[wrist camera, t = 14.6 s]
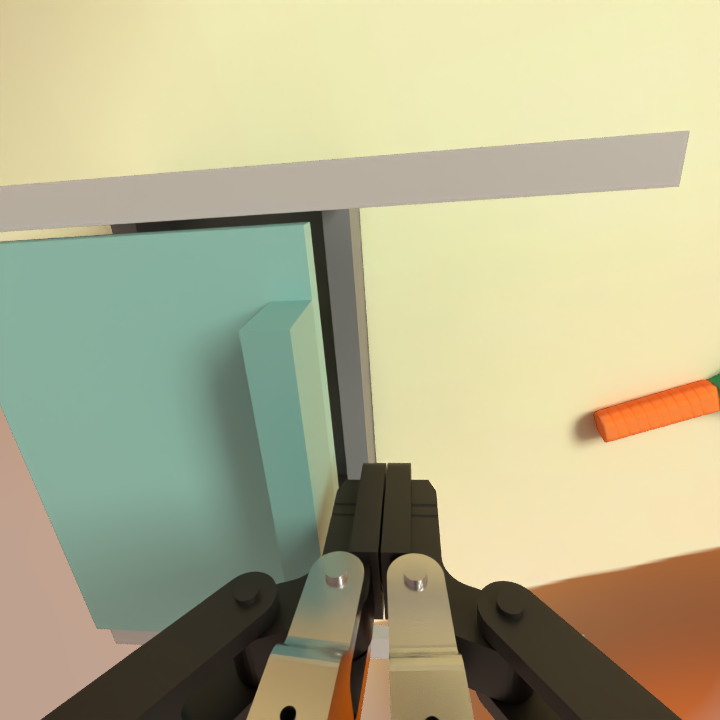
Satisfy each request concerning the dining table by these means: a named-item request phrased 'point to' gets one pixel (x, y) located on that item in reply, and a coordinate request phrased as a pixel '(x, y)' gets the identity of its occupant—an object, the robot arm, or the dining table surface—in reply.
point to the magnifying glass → (659, 409)
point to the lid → (171, 409)
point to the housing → (343, 231)
